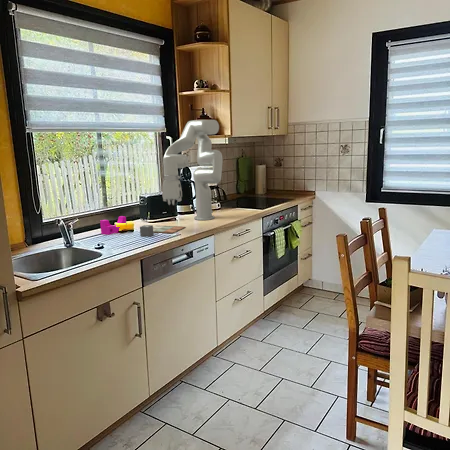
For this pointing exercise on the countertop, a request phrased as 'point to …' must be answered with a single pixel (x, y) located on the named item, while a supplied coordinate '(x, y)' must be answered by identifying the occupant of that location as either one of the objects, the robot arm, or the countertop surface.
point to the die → (146, 230)
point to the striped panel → (167, 229)
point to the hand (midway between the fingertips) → (172, 211)
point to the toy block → (111, 226)
